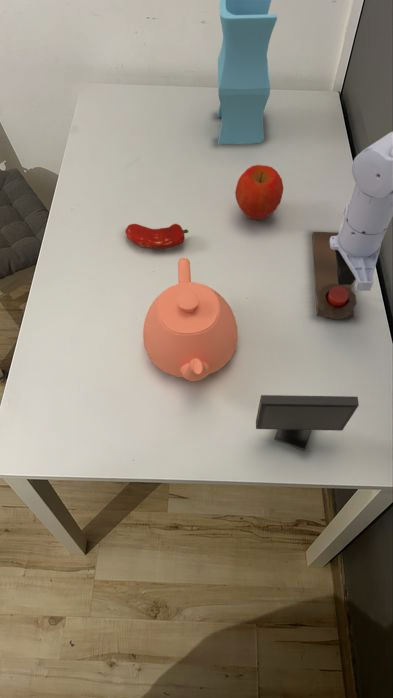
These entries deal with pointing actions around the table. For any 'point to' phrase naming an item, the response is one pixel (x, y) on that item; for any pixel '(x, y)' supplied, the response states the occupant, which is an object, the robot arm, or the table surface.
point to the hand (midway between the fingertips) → (344, 281)
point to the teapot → (189, 329)
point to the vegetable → (156, 236)
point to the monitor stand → (293, 437)
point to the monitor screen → (305, 412)
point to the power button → (337, 296)
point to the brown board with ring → (328, 278)
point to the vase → (244, 69)
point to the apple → (259, 191)
